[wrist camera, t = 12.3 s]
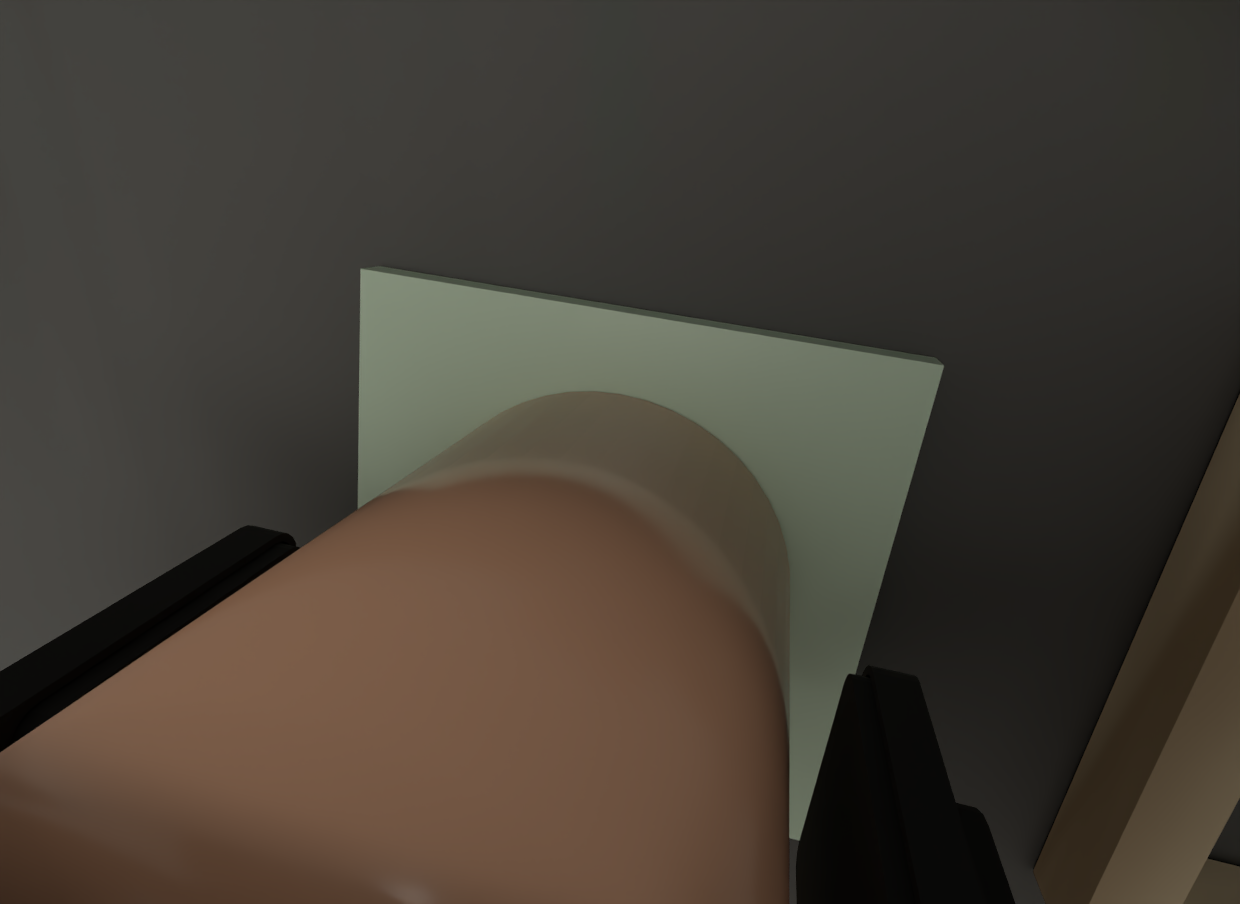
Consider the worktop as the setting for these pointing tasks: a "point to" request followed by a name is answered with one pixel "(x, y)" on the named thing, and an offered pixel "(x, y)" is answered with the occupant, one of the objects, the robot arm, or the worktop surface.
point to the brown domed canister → (454, 697)
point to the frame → (1166, 730)
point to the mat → (696, 389)
